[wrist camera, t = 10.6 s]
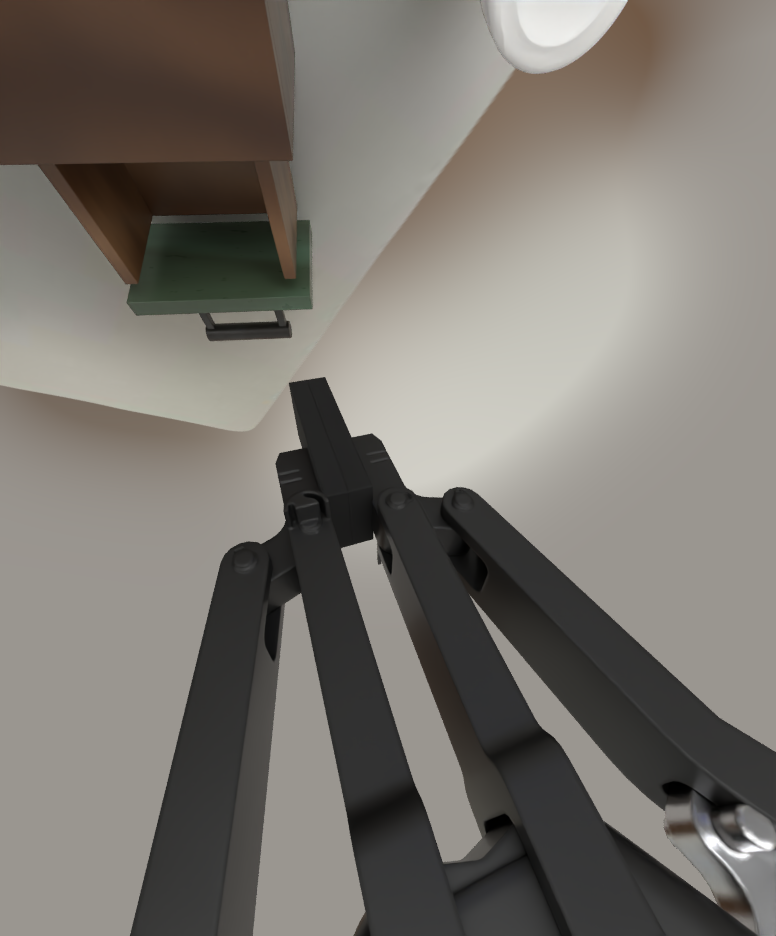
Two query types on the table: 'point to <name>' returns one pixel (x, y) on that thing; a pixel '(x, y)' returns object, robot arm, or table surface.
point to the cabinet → (145, 81)
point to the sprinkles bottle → (548, 30)
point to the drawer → (197, 238)
